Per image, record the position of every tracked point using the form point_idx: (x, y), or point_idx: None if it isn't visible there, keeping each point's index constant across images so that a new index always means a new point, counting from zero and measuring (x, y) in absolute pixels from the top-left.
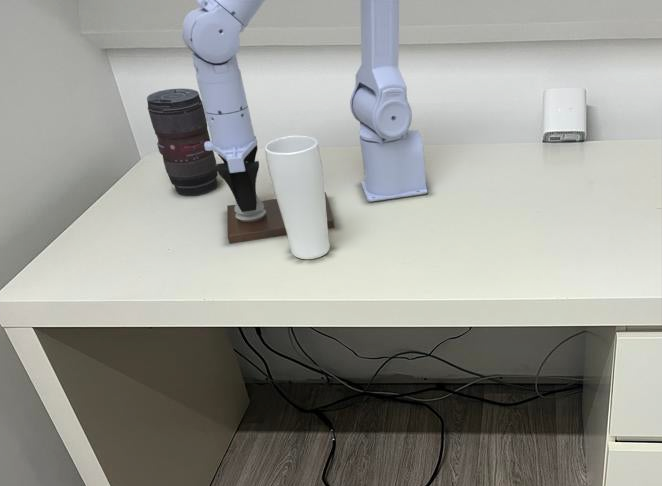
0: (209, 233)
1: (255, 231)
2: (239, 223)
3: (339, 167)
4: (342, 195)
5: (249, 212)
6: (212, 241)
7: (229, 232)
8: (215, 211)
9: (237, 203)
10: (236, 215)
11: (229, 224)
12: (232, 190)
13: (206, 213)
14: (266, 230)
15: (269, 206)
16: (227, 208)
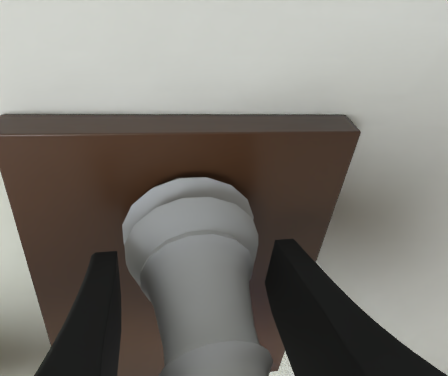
0: (159, 18)
1: (23, 239)
2: (133, 181)
3: (437, 354)
4: (273, 371)
5: (125, 258)
6: (48, 30)
7: (34, 143)
8: (401, 56)
9: (85, 284)
10: (183, 185)
11: (138, 141)
12: (38, 372)
13: (410, 11)
14: (29, 270)
15: (255, 267)
16: (329, 132)
